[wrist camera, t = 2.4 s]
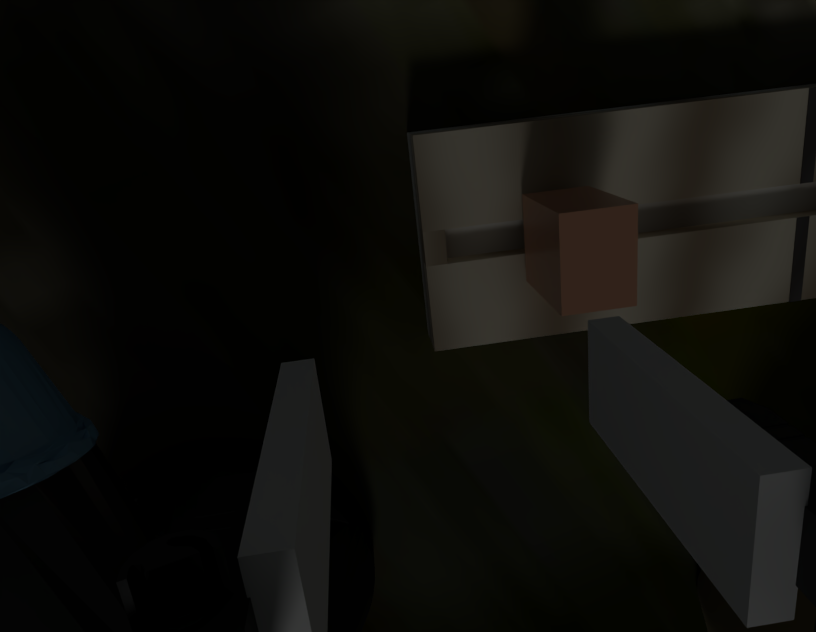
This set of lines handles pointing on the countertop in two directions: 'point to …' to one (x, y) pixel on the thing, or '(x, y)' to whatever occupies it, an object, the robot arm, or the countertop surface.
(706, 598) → the squeeze bottle
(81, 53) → the countertop surface
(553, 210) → the fader tab
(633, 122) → the panel
